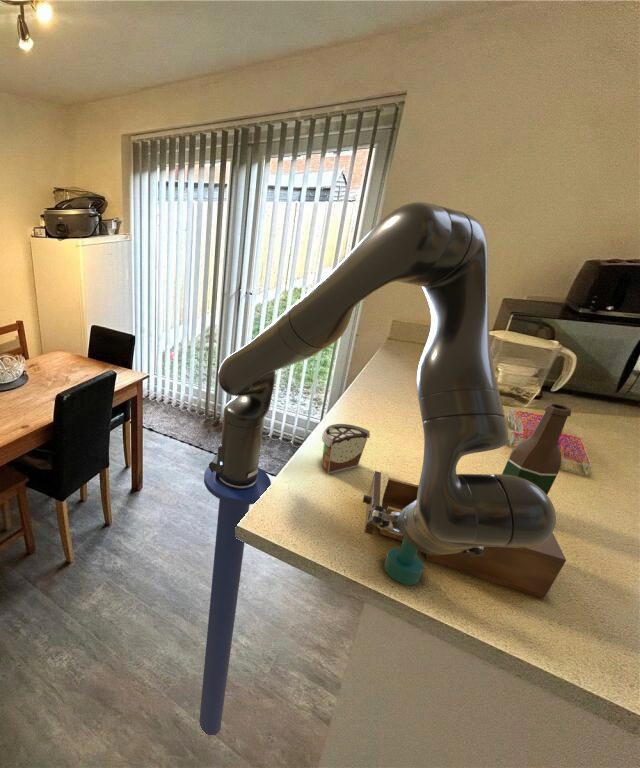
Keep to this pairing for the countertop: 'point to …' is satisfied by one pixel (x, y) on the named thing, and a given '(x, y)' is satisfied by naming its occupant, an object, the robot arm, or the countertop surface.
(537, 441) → the beer bottle
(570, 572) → the countertop surface
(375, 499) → the drawer
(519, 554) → the cabinet
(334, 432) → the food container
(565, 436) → the pink sprinkled snack box
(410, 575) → the teal flanged rod post
